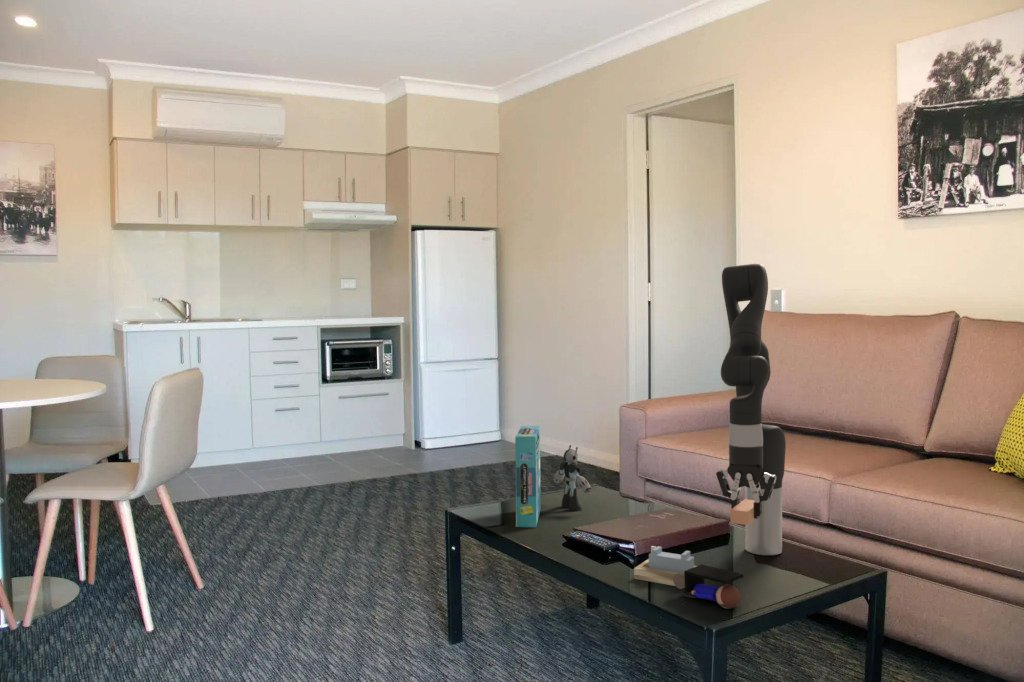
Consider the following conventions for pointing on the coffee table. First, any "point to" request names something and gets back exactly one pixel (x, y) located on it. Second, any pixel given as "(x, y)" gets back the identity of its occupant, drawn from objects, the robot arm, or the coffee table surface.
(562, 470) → the robot
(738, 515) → the orange rectangular block
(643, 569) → the cradle
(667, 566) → the grey toy brick
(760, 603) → the coffee table surface
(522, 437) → the game box
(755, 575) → the coffee table surface
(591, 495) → the coffee table surface
